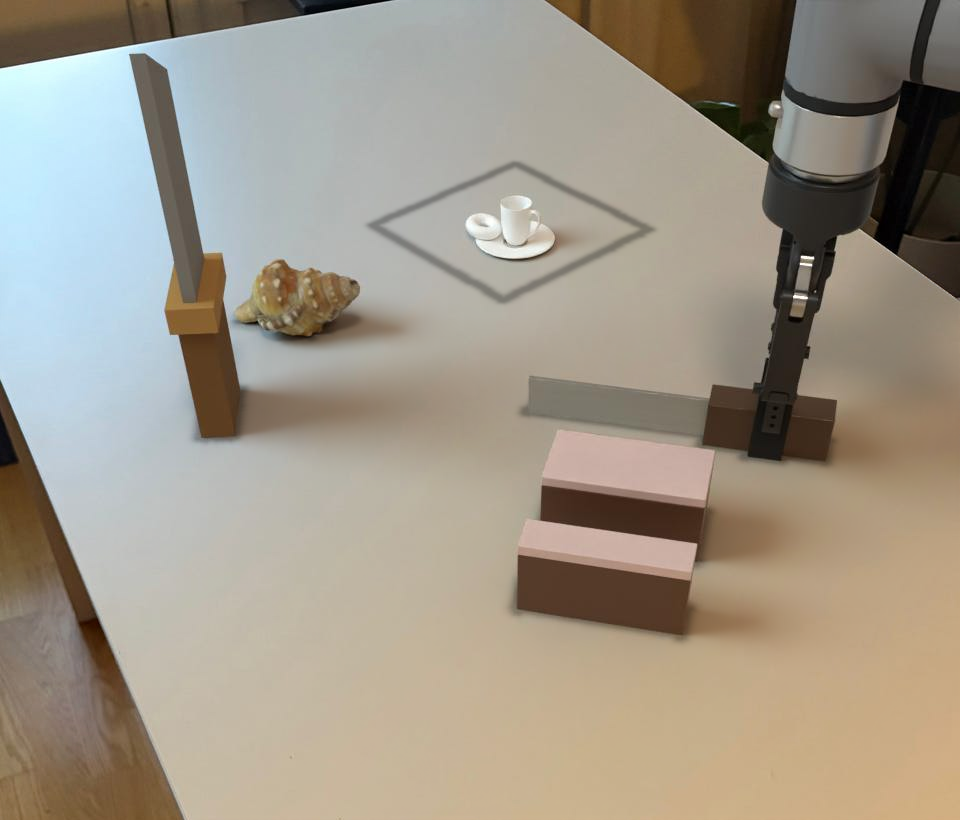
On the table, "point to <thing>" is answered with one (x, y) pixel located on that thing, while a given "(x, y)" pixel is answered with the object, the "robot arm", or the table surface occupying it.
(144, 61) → the knife
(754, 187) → the table surface
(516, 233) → the teacup and saucer
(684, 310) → the table surface
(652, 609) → the cake slice
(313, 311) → the seashell
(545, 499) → the cake
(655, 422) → the cake knife
